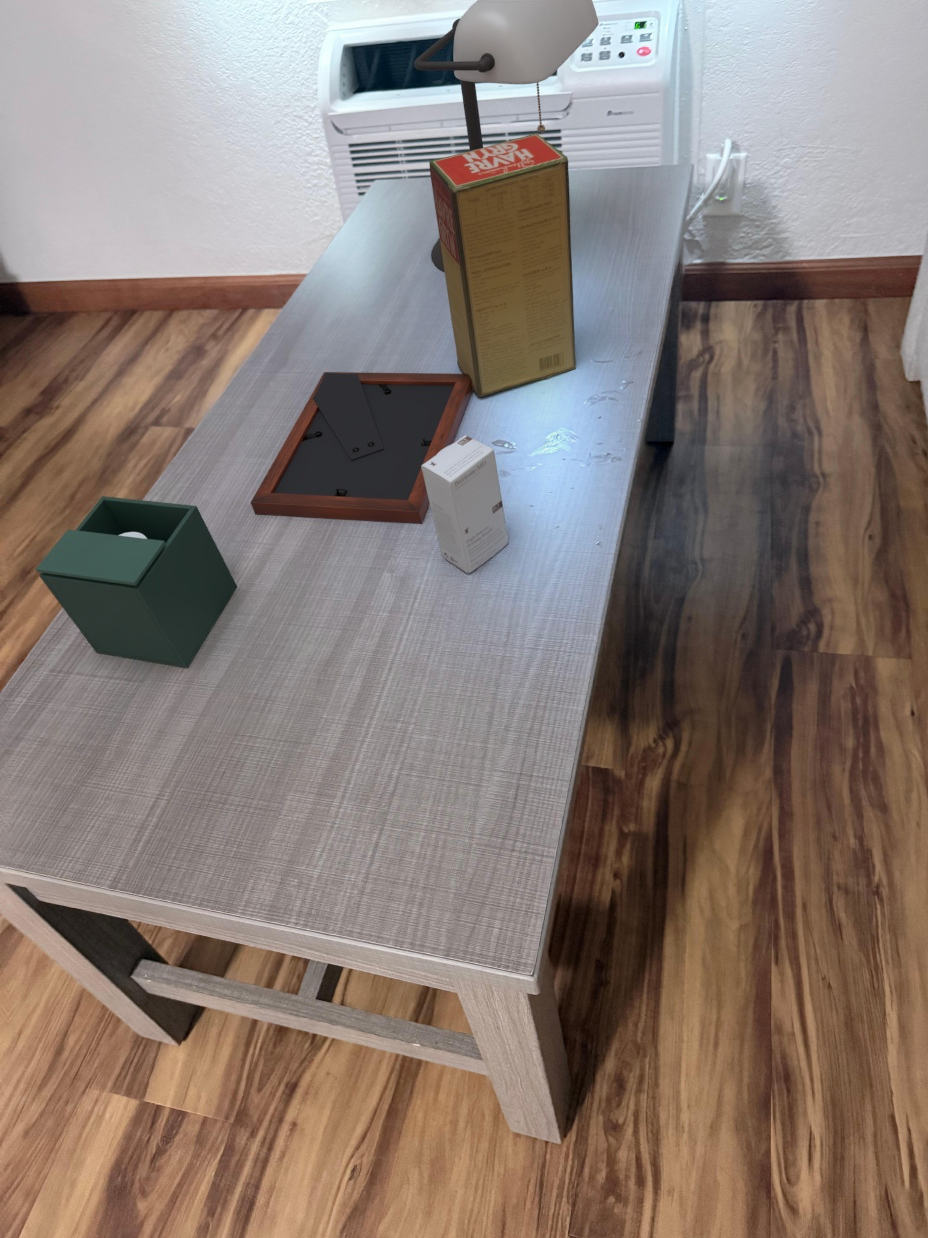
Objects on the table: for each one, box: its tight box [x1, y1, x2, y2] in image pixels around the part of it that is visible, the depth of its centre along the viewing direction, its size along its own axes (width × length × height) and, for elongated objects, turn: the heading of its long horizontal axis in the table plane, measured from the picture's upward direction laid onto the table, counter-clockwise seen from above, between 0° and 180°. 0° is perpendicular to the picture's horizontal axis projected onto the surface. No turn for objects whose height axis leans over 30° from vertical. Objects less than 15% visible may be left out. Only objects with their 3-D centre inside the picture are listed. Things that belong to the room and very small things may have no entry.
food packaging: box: [428, 132, 577, 397], centre depth 102 cm, size 13×9×25 cm
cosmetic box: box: [421, 434, 509, 575], centre depth 87 cm, size 6×4×12 cm
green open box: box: [38, 495, 238, 669], centre depth 87 cm, size 11×11×12 cm
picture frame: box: [250, 371, 474, 525], centre depth 105 cm, size 20×2×25 cm
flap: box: [35, 529, 166, 586], centre depth 81 cm, size 5×11×1 cm, turn 73°
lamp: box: [413, 0, 600, 273], centre depth 120 cm, size 26×24×34 cm
